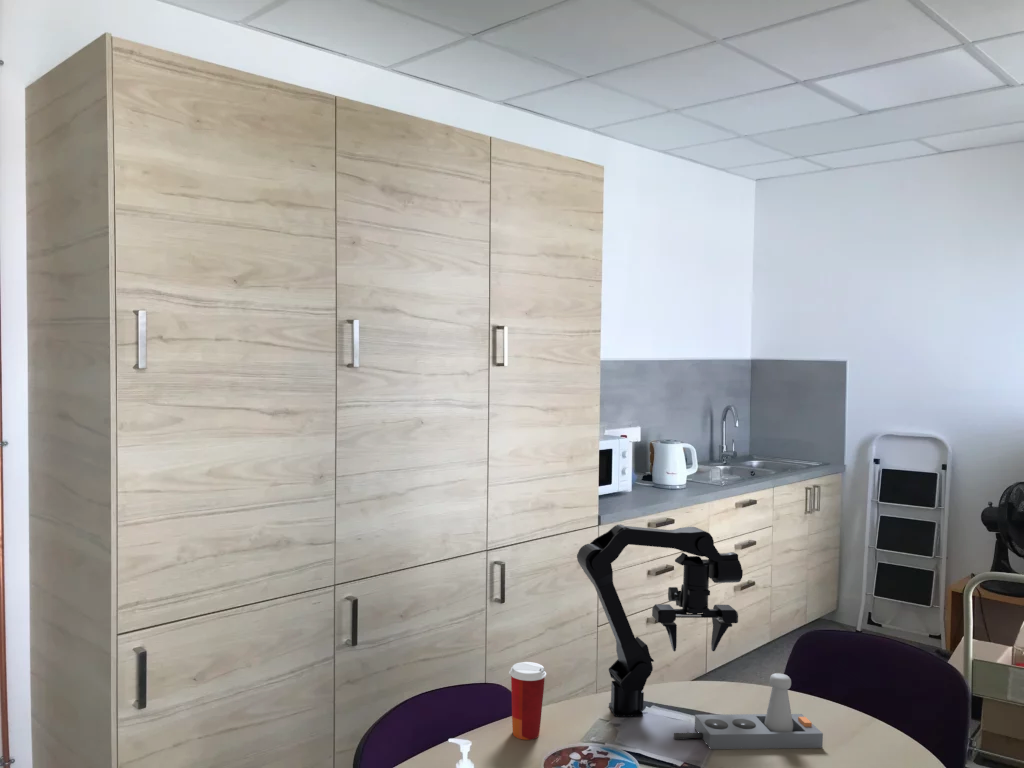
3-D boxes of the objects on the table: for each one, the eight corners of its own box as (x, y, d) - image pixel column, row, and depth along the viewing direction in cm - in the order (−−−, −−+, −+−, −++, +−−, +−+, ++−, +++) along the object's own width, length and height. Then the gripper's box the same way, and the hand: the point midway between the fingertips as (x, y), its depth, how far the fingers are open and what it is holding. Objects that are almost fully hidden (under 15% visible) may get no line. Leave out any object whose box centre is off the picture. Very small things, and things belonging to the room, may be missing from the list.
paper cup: (548, 729, 169) (550, 664, 169) (538, 745, 162) (540, 676, 162) (513, 723, 172) (516, 658, 172) (501, 738, 165) (504, 670, 164)
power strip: (681, 749, 162) (681, 730, 162) (667, 728, 172) (668, 711, 172) (822, 747, 165) (823, 729, 165) (801, 727, 174) (801, 710, 174)
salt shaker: (790, 744, 165) (793, 682, 165) (762, 738, 168) (764, 677, 168) (794, 734, 171) (796, 673, 170) (766, 728, 173) (768, 668, 173)
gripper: (722, 574, 192) (720, 639, 192) (647, 574, 191) (644, 639, 191) (740, 587, 181) (737, 655, 181) (659, 586, 180) (657, 655, 180)
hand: (693, 650), depth 184 cm, fingers open, 9 cm apart
